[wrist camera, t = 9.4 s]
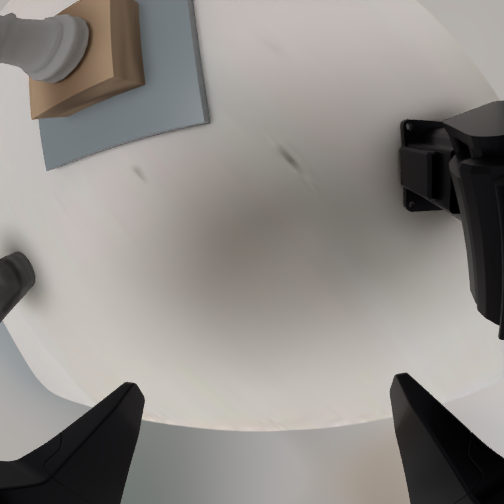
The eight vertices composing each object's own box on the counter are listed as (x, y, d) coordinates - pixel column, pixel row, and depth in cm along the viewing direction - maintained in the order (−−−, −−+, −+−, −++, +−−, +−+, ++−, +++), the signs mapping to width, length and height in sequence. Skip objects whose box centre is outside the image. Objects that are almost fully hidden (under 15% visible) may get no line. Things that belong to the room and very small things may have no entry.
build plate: (188, -35, 12) (182, -44, 10) (210, 122, 17) (204, 122, 16) (47, 31, 14) (37, 29, 12) (57, 167, 19) (46, 171, 18)
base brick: (138, 3, 12) (110, -17, 8) (145, 84, 15) (113, 76, 11) (63, 41, 13) (30, 33, 9) (67, 116, 16) (31, 119, 12)
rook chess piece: (40, 42, 10) (-52, 34, 3) (91, 5, 9) (-3, -29, 2) (44, 96, 12) (-60, 105, 4) (97, 61, 11) (-17, 43, 3)
